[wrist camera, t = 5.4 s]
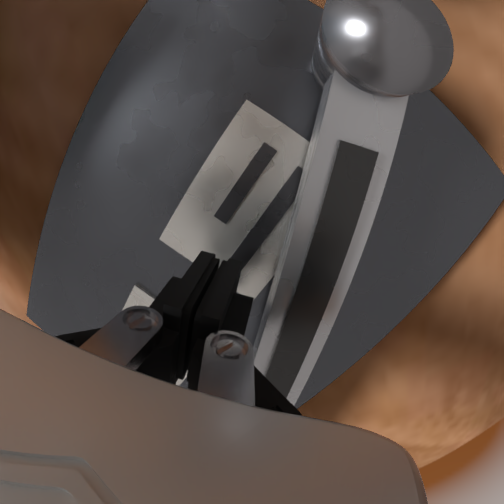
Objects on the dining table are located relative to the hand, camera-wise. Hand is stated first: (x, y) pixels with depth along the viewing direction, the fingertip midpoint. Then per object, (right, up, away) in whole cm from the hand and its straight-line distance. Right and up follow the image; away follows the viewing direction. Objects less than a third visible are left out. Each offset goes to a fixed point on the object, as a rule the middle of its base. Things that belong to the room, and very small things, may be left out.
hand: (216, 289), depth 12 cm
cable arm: (+3, -1, +1) cm, 3 cm away
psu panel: (0, +1, +3) cm, 3 cm away
